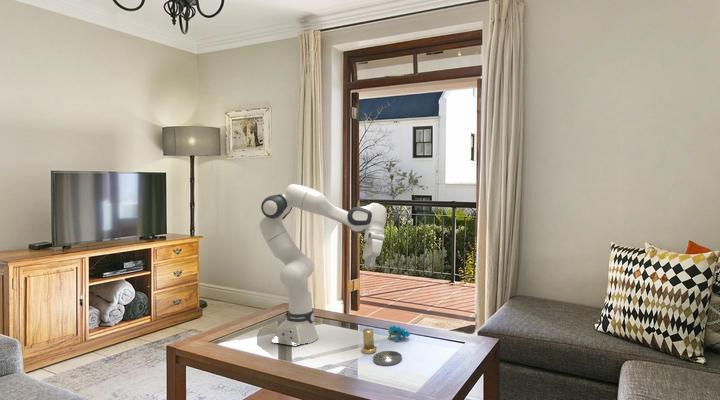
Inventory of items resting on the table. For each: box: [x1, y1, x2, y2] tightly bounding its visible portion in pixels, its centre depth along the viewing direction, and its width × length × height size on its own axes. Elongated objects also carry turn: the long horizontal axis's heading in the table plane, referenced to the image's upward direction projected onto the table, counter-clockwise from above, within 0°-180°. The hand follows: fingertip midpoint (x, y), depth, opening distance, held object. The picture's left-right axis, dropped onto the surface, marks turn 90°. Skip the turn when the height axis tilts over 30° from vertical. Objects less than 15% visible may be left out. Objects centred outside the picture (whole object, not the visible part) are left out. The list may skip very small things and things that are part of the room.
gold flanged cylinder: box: [361, 328, 378, 355], centre depth 197 cm, size 6×6×10 cm
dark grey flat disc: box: [372, 350, 403, 367], centre depth 188 cm, size 12×12×1 cm
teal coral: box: [387, 325, 411, 343], centre depth 208 cm, size 11×6×10 cm
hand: (368, 267), depth 202 cm, fingers open, 8 cm apart
